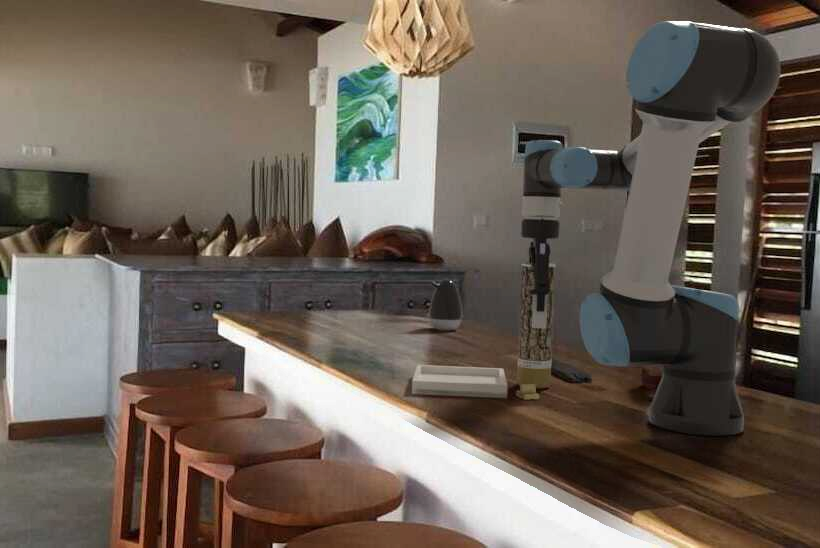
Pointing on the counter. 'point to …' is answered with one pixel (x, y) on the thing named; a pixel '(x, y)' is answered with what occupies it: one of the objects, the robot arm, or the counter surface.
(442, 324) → the pump dispenser
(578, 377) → the wood
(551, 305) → the paper tube
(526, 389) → the tan short block
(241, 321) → the counter surface
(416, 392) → the ceramic dish
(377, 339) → the counter surface
